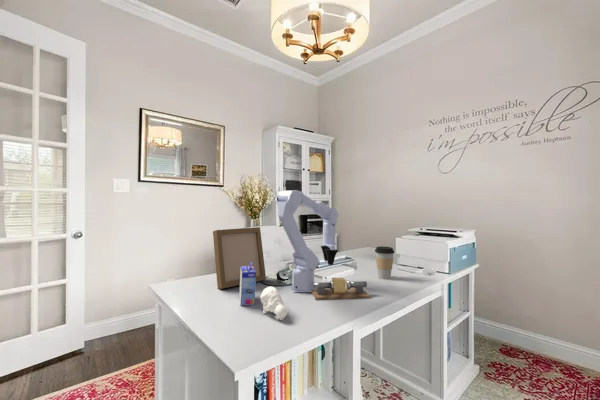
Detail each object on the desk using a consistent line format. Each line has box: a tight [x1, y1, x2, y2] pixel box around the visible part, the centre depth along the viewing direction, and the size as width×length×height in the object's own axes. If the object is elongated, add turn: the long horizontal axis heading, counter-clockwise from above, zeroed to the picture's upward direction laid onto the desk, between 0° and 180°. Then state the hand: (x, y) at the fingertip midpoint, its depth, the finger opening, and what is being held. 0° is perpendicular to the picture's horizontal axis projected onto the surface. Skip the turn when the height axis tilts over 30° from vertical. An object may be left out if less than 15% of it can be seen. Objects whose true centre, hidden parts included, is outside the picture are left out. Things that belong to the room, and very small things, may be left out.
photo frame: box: [212, 226, 267, 289], centre depth 128 cm, size 15×22×25 cm
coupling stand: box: [311, 279, 371, 301], centre depth 112 cm, size 22×9×6 cm, turn 97°
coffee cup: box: [374, 245, 395, 280], centre depth 138 cm, size 9×9×15 cm
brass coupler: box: [331, 277, 347, 294], centre depth 112 cm, size 5×4×6 cm
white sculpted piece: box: [259, 286, 288, 322], centre depth 92 cm, size 6×8×12 cm
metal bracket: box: [267, 265, 297, 285], centre depth 134 cm, size 14×6×15 cm
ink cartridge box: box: [238, 262, 257, 307], centre depth 104 cm, size 10×6×14 cm, turn 15°
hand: (328, 262), depth 128 cm, fingers open, 7 cm apart
